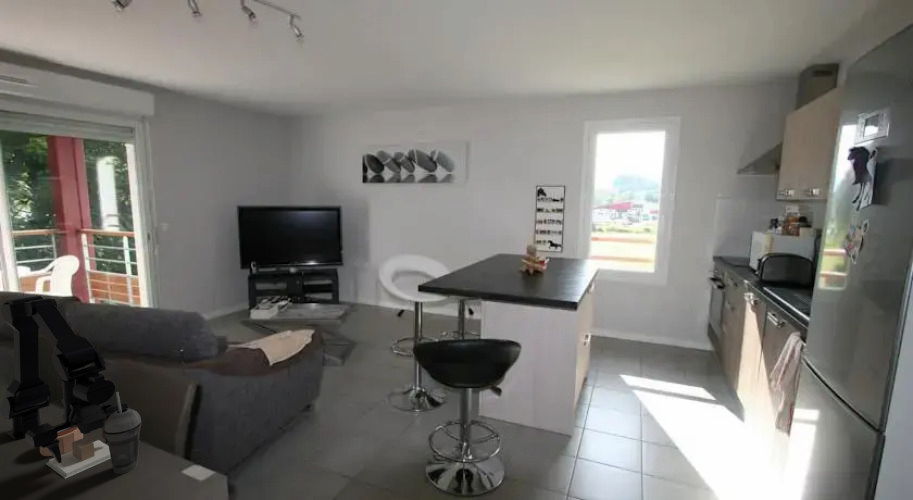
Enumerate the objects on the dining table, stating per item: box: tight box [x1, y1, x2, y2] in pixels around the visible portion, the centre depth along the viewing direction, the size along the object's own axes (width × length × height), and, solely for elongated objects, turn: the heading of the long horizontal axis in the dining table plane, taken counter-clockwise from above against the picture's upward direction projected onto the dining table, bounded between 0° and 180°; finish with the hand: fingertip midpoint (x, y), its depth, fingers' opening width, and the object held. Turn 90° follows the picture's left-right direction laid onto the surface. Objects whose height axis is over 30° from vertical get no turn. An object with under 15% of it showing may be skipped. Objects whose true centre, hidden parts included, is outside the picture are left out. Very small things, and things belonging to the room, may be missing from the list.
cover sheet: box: [48, 436, 111, 476], centre depth 103 cm, size 10×10×4 cm
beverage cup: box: [104, 391, 143, 475], centre depth 99 cm, size 7×7×20 cm
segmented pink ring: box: [39, 426, 84, 457], centre depth 108 cm, size 8×8×5 cm
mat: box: [45, 457, 111, 480], centre depth 103 cm, size 11×11×1 cm
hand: (83, 452), depth 103 cm, fingers open, 9 cm apart
